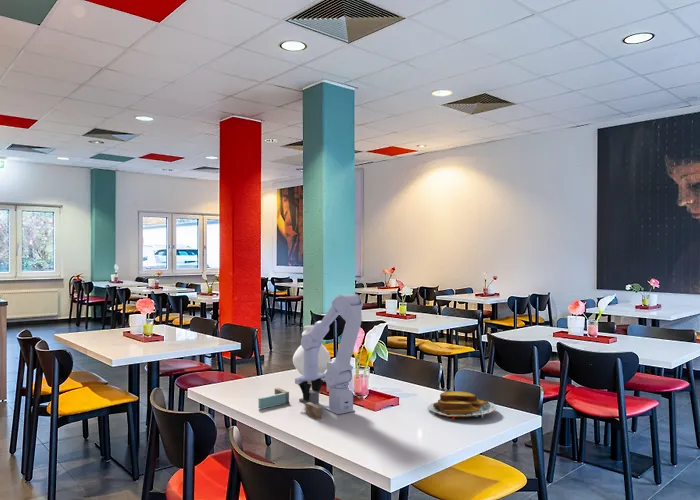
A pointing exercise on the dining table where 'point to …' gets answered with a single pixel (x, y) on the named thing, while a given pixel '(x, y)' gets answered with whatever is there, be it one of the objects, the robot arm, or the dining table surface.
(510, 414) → the dining table surface
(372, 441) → the dining table surface
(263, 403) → the door
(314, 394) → the door stop
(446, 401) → the food on plate
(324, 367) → the decorative vase
